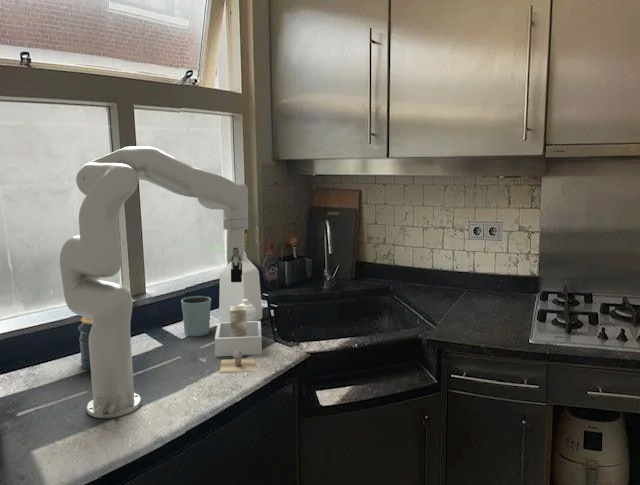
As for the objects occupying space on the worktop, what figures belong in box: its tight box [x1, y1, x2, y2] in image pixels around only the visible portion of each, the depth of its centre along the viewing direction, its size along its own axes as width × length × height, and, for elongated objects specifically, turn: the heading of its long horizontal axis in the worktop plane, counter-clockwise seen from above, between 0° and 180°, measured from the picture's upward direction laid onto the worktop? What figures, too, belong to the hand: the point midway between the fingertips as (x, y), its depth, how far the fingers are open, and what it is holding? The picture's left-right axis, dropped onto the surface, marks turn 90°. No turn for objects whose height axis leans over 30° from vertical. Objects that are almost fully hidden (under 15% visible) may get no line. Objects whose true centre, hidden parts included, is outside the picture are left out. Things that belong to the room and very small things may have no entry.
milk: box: [218, 250, 263, 323], centre depth 200 cm, size 12×12×26 cm
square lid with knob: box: [219, 351, 257, 374], centre depth 155 cm, size 10×10×6 cm
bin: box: [214, 320, 263, 357], centre depth 170 cm, size 16×14×7 cm
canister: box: [77, 316, 93, 371], centre depth 160 cm, size 13×13×18 cm
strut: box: [230, 306, 247, 337], centre depth 170 cm, size 5×5×13 cm
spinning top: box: [238, 299, 257, 321], centre depth 187 cm, size 8×8×12 cm
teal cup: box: [180, 295, 212, 337], centre depth 188 cm, size 10×10×12 cm
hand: (236, 278), depth 167 cm, fingers open, 9 cm apart
